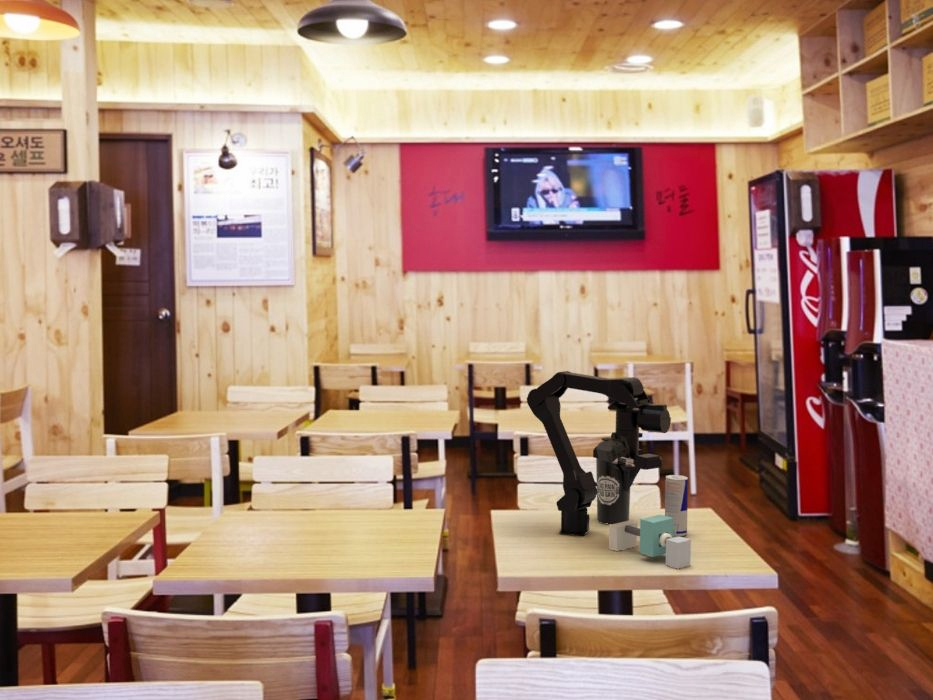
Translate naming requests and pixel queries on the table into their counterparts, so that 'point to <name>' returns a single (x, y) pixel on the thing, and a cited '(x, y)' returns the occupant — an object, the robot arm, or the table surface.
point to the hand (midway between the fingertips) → (625, 491)
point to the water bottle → (610, 494)
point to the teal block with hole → (654, 534)
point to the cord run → (676, 547)
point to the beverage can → (677, 502)
